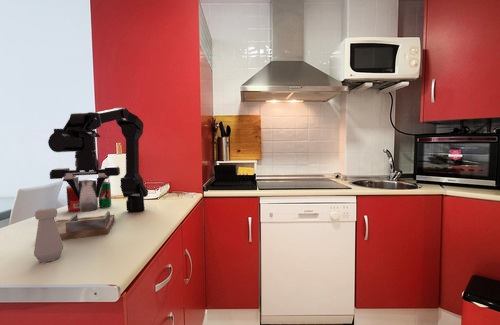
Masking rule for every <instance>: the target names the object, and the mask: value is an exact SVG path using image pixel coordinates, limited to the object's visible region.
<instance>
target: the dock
mask: <svg viewBox="0 0 500 325" xmlns="http://www.w3.org/2000/svg"><path fill="white" fill-rule="evenodd" d="M115 218H116V217H115V213H113V214H111V211H109V210H108V211H106V213H105V214H103V215H96V216H95V215H93V216H82V217H78V214H77V213H75V214H73V215H72V216H71V217H69V218H63V219H62V218H61V219H55V222H56V225H57V228H58V231H59V234H60V237H61V240H62V241H63V240H71V239H74V240H75V239H79V238H88V237H96V236H97V237H98V236H104V235H109V233H110V231H111V229H112V227H113V225H114V222H115Z"/></svg>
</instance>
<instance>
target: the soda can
mask: <svg viewBox="0 0 500 325" xmlns="http://www.w3.org/2000/svg"><path fill="white" fill-rule="evenodd" d="M111 206H112V190H111V182H110V179H109V180H108V179H105V181H104V183H103V185H102V189H101V192H100V195H99V197H98V207H100V208H108V207H111Z"/></svg>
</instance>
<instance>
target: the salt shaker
mask: <svg viewBox="0 0 500 325" xmlns="http://www.w3.org/2000/svg"><path fill="white" fill-rule="evenodd" d="M57 216H58V209H57V208H55V207H43V208H40V209H37V210H36V211H35V212H34V217H35V219H36V220H38V222H37V229H36V237H35V243H34V249H33V254H34V255H33V256H34V257H35V259H36V260H37V261H38V262H39V261H40V262H39V263H42V262H46V263H50V262H49V261H51V262H54V261H56V260H58V259H60V258H59V257H61V255H62V252H63V251H64V243H63V240H61V237H60V234H59V231H58V228H57V225H56V219H55V218H56V217H57ZM57 258H58V259H57ZM55 259H56V260H55ZM53 260H54V261H53Z"/></svg>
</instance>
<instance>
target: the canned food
mask: <svg viewBox="0 0 500 325" xmlns="http://www.w3.org/2000/svg"><path fill="white" fill-rule="evenodd" d="M66 202H67V210H68V211H69V212H70V213H76V212H81V211H80V199H78V198H77V196H76V194H75V193H74V191H73V189H72V188H71V186H70V185H69V184H68V185H66Z"/></svg>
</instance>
